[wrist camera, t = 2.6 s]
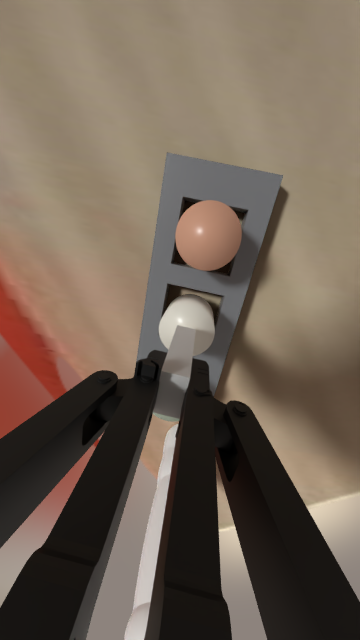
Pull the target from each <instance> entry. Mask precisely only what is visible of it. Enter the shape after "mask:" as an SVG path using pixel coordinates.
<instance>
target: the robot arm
mask: <svg viewBox="0 0 360 640" xmlns="http://www.w3.org/2000/svg"><path fill="white" fill-rule="evenodd" d="M195 331H196V329H192V328H188V327H183V326H179V325H177V327H176V330H175V333H174V336H173V339H172V341H171V344H170V347H169V350H168V353H167V352H163V351H159V350H153V351H151V352H150V353H149V354H148V356H147V358H145V359H140V360H138V361H137V362H136V368H135V374H134V377H133V378H131V379H118V377H117V375H116V374H115V373H113V372H111V371H105V370H102V371H97V372H95V373H93V374H92V375H90V376H89V377H88V378H86V379H85V380H83V381H82V382H80V383H79V384H78V385H76V386H75V387H73V388H72V389H70V390H69V391H68V392H66V393H65V394H63V395H62V396H61V397H59V398H58V399H56V400H55V401H53V402H52V403H51V404H50V405H48V406H46V407H45V408H44V409H42V410H41V411H39V412H38V413H37V414H35V415H34V416H32V417H31V418H29V419H28V420H27V421H25V422H24V423H22V424H21V425H19V426H18V427H17V428H15V429H14V430H12V431H11V432H9V433H8V434H7V435H5V436H4V437H3V438H1V439H0V548H1V547H2V546H3V545H4V543H5V542H6V541H7V540H8V539H9V538H10V537H11V535H12V534H13V533H14V532H15V531H16V530H17V529H18V528H19V526H20V525H21V524H22V523H23V522H24V521H25V520H26V519H27V518H28V516H29V515H30V514H31V513H32V512H33V511H34V510H35V508H36V507H37V506H38V505H39V504H40V503H41V502H42V501H43V500H44V498H45V497H46V496H47V495H48V494H49V493H50V492H51V491H52V489H53V488H54V487H55V486H56V485H57V484H58V483H59V482H60V480H61V479H62V478H63V477H64V476H65V475H66V474H67V473H68V471H69V470H70V469H71V468H72V467H73V466H74V464H75V463H76V462H77V461H78V460H79V459H80V458H81V457H82V456H83V455H84V454H85V452H86V451H87V450H88V449H89V448H90V447H91V446H92V445H93V443H94V442H95V441H96V440H97V439H98V438H99V437H100V436H101V434H102V433H103V432H104V431H105V432H104V434H103V435H102V437H101V439H100V441H99V443H98V445H97V447H96V448H95V450H94V452H93V454H92V456H91V458H90V460H89V462H88V463H87V466H86V467H85V469H84V471H83V473H82V475H81V477H80V478H79V481H78V482H77V484H76V486H75V488H74V490H73V492H72V493H71V495H70V497H69V499H68V501H67V503H66V505H65V506H64V508H63V510H62V512H61V514H60V516H59V518H58V520H57V522H56V523H55V525H54V527H53V529H52V531H51V533H50V535H49V536H48V538H47V540H46V542H45V543H44V544H43V546H42V547H41V548H39V549H38V550H36V551H35V552H34V553H33V554H32V555H31V557H30V558H29V559H28V561H27V562H26V564H25V565H24V567H23V569H22V570H21V572H20V574H19V575H18V577H17V579H16V581H15V583H14V584H13V586H12V588H11V590H10V592H9V593H8V595H7V597H6V599H5V600H4V602H3V604H2V606H1V608H0V640H86V637H87V633H88V629H89V625H90V621H91V617H92V613H93V610H94V606H95V603H96V600H97V596H98V593H99V589H100V586H101V583H102V580H103V577H104V573H105V570H106V567H107V563H108V560H109V557H110V554H111V550H112V547H113V543H114V541H115V537H116V534H117V531H118V527H119V524H120V521H121V518H122V514H123V511H124V507H125V504H126V501H127V498H128V495H129V491H130V488H131V484H132V481H133V478H134V475H135V472H136V468H137V465H138V462H139V458H140V455H141V452H142V449H143V445H144V442H145V439H146V435H147V432H148V429H149V426H150V422H151V418H152V413H157V414H161V415H165V416H169V417H173V418H177V419H180V420H179V424H178V428H177V432H176V435H175V437H176V441H175V448H174V454H173V461H172V467H171V474H170V480H169V486H168V493H167V499H166V506H165V512H164V519H163V525H162V532H161V538H160V544H159V551H158V557H157V564H156V570H155V577H154V583H153V589H152V596H151V602H150V609H149V615H148V621H147V627H146V633H145V638H144V640H232V634H231V624H230V615H229V610H228V606H227V603H226V601H225V600H224V598H223V595H222V591H221V576H220V554H219V530H218V507H217V484H216V461H217V464H218V468H219V471H220V475H221V478H222V482H223V485H224V489H225V492H226V496H227V499H228V503H229V506H230V510H231V513H232V517H233V520H234V524H235V527H236V531H237V534H238V538H239V541H240V545H241V548H242V552H243V556H244V559H245V563H246V566H247V569H248V573H249V577H250V580H251V583H252V587H253V590H254V594H255V598H256V601H257V605H258V608H259V612H260V615H261V619H262V622H263V626H264V629H265V633H266V636H267V640H360V602H359V600H358V598H357V596H356V594H355V593H354V591H353V589H352V588H351V586H350V584H349V582H348V580H347V578H346V577H345V575H344V573H343V571H342V570H341V568H340V566H339V564H338V562H337V561H336V559H335V557H334V555H333V554H332V552H331V550H330V548H329V547H328V545H327V543H326V541H325V539H324V538H323V536H322V534H321V532H320V530H319V529H318V527H317V525H316V523H315V522H314V520H313V518H312V516H311V515H310V513H309V511H308V509H307V507H306V506H305V504H304V502H303V500H302V499H301V497H300V495H299V493H298V491H297V490H296V488H295V486H294V484H293V483H292V481H291V479H290V477H289V475H288V474H287V472H286V470H285V468H284V467H283V465H282V463H281V461H280V459H279V458H278V456H277V454H276V452H275V451H274V449H273V447H272V445H271V443H270V442H269V440H268V438H267V436H266V435H265V433H264V431H263V429H262V428H261V426H260V424H259V422H258V420H257V419H256V417H255V415H254V413H253V412H252V410H251V409H250V408H249V407H248V406H247V405H246V404H244V403H242V402H239V401H230V402H228V403H227V405H226V404H224V403H222V402H220V401H218V400H217V399H215V398H214V397H213V394H212V391H211V390H210V382H209V365H208V364H207V362H206V361H203V360H199V359H195V358H192V357H193V349H194V340H195ZM215 457H216V460H215Z"/></svg>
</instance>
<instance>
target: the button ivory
mask: <svg viewBox="0 0 360 640" xmlns="http://www.w3.org/2000/svg"><path fill="white" fill-rule="evenodd" d="M177 325H179V326H183V327H188V328H192V329H196V331H195V340H194V349H193V356H196V355H199V354H201V353H203V352H204V351H206V350H207V349H208V348H209V347H210V345H211V344H212V342H213V339H214V335H215V327H214V318H213V311H212V308H211V306H210V305H209V303H208V302H207V301H206V300H205V299H203V298H202V297H200V296H197V295H193V294H185V295H181V296H179V297H177V298H176V299H174V300H173V301H172V302H171V303H170V305H169V307H168V308H167V310H166V312H165V313H164V315H163V317H162V319H161V321H160V324H159V336H160V339H161V341H162V343H163V344H164V346H165V347H166V348H167V349H168V350H169V347H170V344H171V341H172V339H173V336H174V333H175V330H176V327H177Z"/></svg>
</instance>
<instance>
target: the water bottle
mask: <svg viewBox="0 0 360 640" xmlns="http://www.w3.org/2000/svg"><path fill="white" fill-rule="evenodd" d="M177 428H178V424H176V425H174V426H173V427H172V428H170V430H169V431H168V432H167V435H166V438H165V442H164V449H163V458H162V461H161V464H160V468H159V473H158V481H157V490H156V493H155V497H154V500H153V504H152V509H151V513H150V517H149V521H148V526H147V531H146V536H145V541H144V545H143V551H142V556H141V562H140V567H139V573H138V579H137V585H136V592H135V599H134V607H133V613H132V615H131V617H130V619H129V622H128V625H127V628H126V632H125V637H124V640H144V638H145V633H146V627H147V621H148V615H149V609H150V602H151V596H152V589H153V583H154V577H155V570H156V564H157V557H158V551H159V544H160V538H161V532H162V525H163V519H164V512H165V506H166V499H167V493H168V486H169V480H170V474H171V467H172V461H173V454H174V448H175V441H176V437H175V435H176V432H177Z"/></svg>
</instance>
